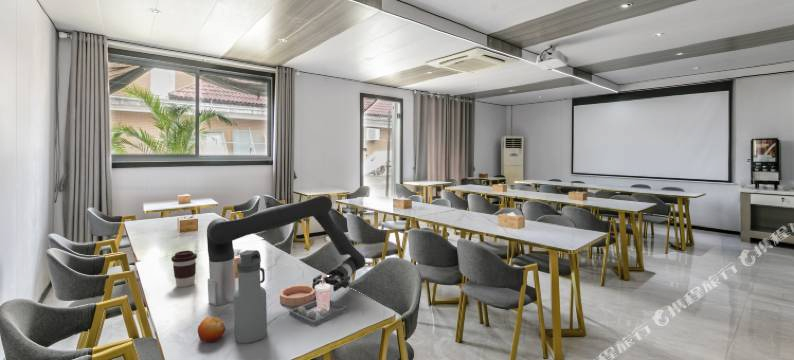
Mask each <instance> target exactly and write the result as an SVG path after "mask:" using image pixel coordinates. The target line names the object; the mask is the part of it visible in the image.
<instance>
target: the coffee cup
mask: <svg viewBox="0 0 794 360" xmlns="http://www.w3.org/2000/svg"><path fill="white" fill-rule="evenodd" d="M197 258H198V254H197V253H195V252H193V250H182V251H177V252H176V253H175V254H174V255H173V256H171V258H170V259H171V262H172V263H173V265H172V267H173V272H174V273H173V275H174V279H175V285H176V287H178V288H186V286H187V287H190V285H191V286H193V285H194V284H195V282H196V273H197V272H196V271H197V270H196V269H197V267H196V266H197V265H196V264H197V262H196V259H197Z"/></svg>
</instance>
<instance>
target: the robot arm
mask: <svg viewBox="0 0 794 360" xmlns="http://www.w3.org/2000/svg"><path fill="white" fill-rule="evenodd" d="M332 207H333V202H332V200H331V198H329V197H328V196H326V195H321V194H319V195H317V196H314V197H312V198H310V199H309V198H308V199H306V200H303V201H299V202H292V203H287V204H280V205H277V206H276V205H275V206H272V207H267V208H264V209H261V210H259V211H256V212H253V214H249V215H247V216H245V217H242V218H241V217H240V218H236V219H230V220H228V219H225V218H221V217H220V218H216V219H213V220H212V221H210V222H209V224H208V225H207V228H206V241H207V254H208V264H209V265H208V268H209V278H207V292H208V293H207V294H208V300H207V301H208V303H209V304H211V305H213V306H214V307H217V306H222V305H227V304H231V303H234V301H233V296H234V294H235V292H236V291H237V290H236V269H235V265H236V264H235V251H234V249H235V248H234V246H233V245H234V244H233V242H234V241H236V240H238V239H241V238H243V237H246V236H249V235H252V234H258V233H263V232H266V231H271V230H274V229H279V228H282V227H285V226H288V225H290V224H293V223H295V222H298V221H301V220H303V219H306V218H311V217H312V218H314V219H315V220H316V221H317V223H318V225H320V226H321V228H322V229H323V230H324V232H325V234H326V235H327V236H328V237H329V239H330V241H331V242H332V244H333V245H334V248H335V249H336V251H337V252H338V254H339V255H340V256H345V255H346V256H347V255H349V257H347V258H345V259H344V260H343V261H342V262H341V263H340V264H338V265H336V266H335V267H333V268H332V269H331V270H329V272H328V274H327V275H325V276H323V283H326V284H330V285H332V286H333V292H337V291H339V290H340V289H342V288H343V289H347V288H348V287H349V285H350V284H351V277H352V276H353V275H354V273H355V272H357V271H358V270H360V269H362V268H364V267H365V266H366V258H365V256H364V255H363V254H362V253H361V252H360V251H359V250H357V249H356V247H354V245H353V244H352V243H351V241H350V239H349V238H348V236H347V234H346V233H345V232H344V230H343V229H341V228H340V227H339V225H338V224H337V223H336V222H335V221H334V220H333V218H332V216H331V215H330V211H331V210H332ZM318 284H322V274H319V275H317V276H315V277H314V278H313V279H312V285H311V286H312V287H313V289H315V286H316V285H318Z"/></svg>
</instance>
